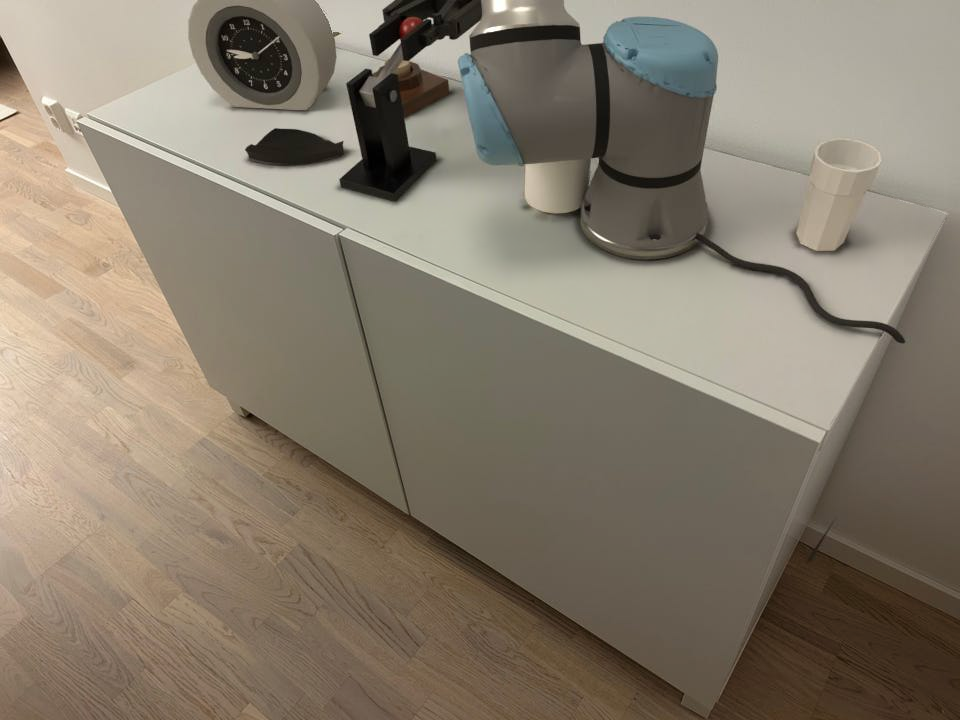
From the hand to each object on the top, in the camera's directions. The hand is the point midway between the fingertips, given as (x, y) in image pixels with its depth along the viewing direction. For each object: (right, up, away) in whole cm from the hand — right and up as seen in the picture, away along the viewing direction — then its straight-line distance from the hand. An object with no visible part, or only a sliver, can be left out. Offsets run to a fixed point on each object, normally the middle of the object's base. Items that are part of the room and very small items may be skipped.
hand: (388, 47), depth 92 cm
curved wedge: (-16, -9, +15) cm, 24 cm away
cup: (+52, -26, -7) cm, 58 cm away
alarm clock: (-22, +3, +27) cm, 35 cm away
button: (-1, +6, +22) cm, 23 cm away
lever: (+1, -2, +4) cm, 4 cm away
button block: (-1, +3, +25) cm, 25 cm away
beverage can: (+22, -19, +2) cm, 29 cm away
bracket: (-1, -14, +9) cm, 17 cm away
